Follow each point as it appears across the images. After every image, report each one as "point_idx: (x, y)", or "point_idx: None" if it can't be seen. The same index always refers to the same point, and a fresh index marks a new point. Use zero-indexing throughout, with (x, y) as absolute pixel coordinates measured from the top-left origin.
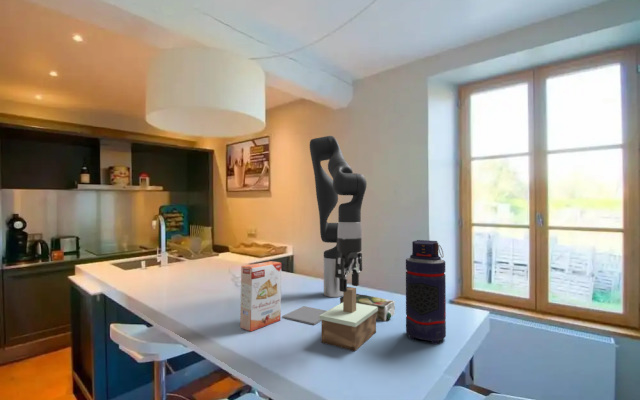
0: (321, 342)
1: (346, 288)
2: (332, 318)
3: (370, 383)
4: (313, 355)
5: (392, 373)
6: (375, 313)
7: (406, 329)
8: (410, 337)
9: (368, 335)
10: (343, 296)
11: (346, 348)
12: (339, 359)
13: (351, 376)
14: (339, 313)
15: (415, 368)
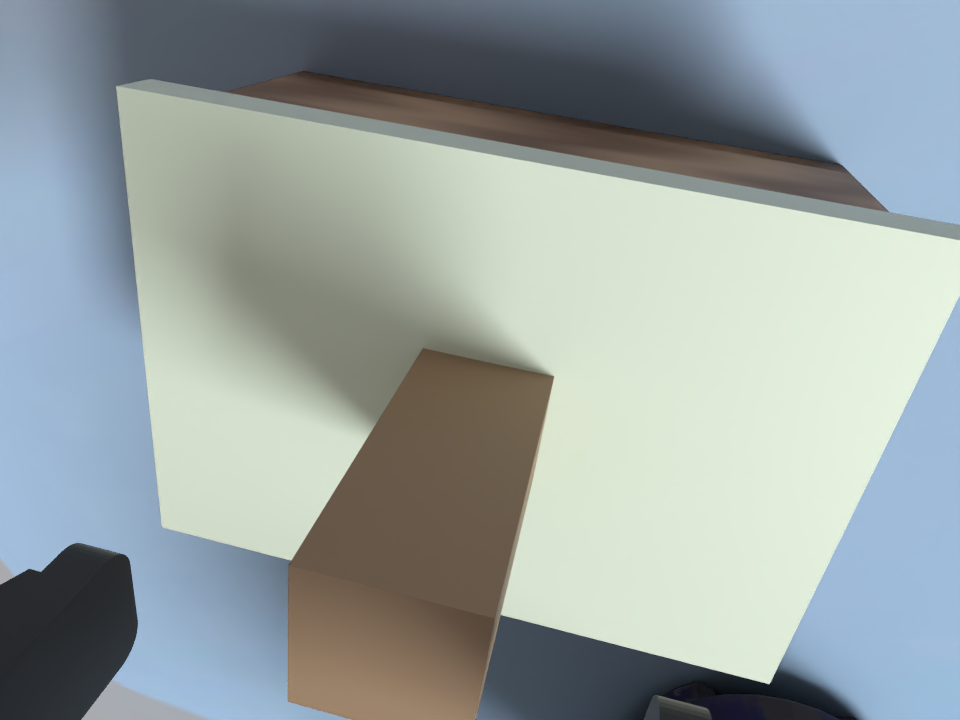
0: (302, 71)
1: (82, 689)
2: (139, 286)
3: (31, 504)
4: (71, 106)
5: (174, 586)
6: None
7: (719, 713)
8: (673, 694)
9: None
10: (348, 470)
11: None
12: (137, 309)
13: (22, 416)
14: (324, 322)
15: (282, 673)
